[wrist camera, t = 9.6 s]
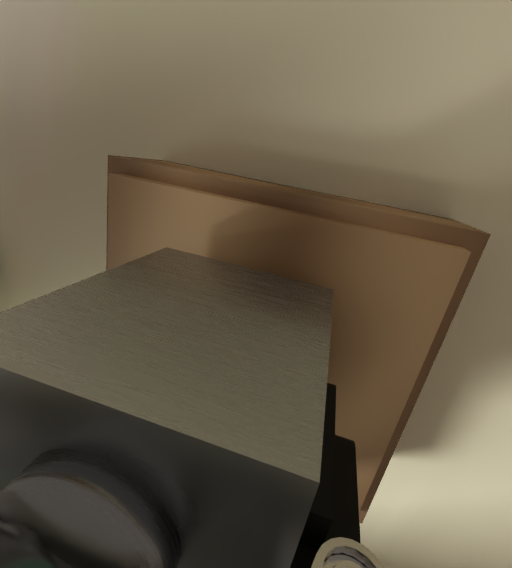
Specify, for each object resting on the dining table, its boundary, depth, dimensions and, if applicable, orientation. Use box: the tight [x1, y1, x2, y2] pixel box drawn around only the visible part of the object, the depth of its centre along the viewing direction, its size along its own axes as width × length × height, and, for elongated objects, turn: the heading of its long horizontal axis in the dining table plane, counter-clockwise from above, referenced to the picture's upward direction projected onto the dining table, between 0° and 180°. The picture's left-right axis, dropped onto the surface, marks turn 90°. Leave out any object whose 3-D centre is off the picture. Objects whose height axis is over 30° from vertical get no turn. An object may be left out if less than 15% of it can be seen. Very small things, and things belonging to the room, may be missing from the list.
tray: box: [106, 155, 490, 523], centre depth 13 cm, size 12×12×4 cm
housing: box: [0, 247, 334, 568], centre depth 8 cm, size 8×5×7 cm, turn 170°
